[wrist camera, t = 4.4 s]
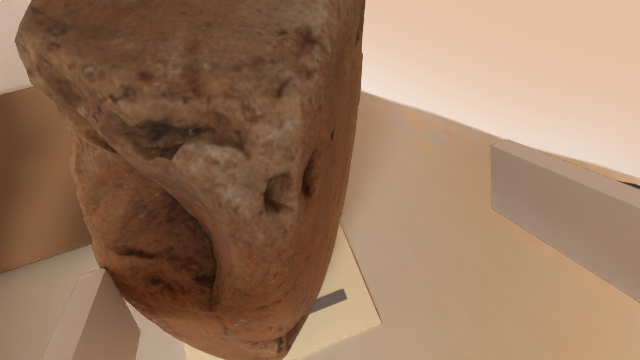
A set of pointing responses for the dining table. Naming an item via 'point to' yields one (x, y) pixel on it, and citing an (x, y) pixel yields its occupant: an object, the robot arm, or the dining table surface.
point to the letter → (329, 307)
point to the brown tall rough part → (207, 152)
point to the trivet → (36, 182)
